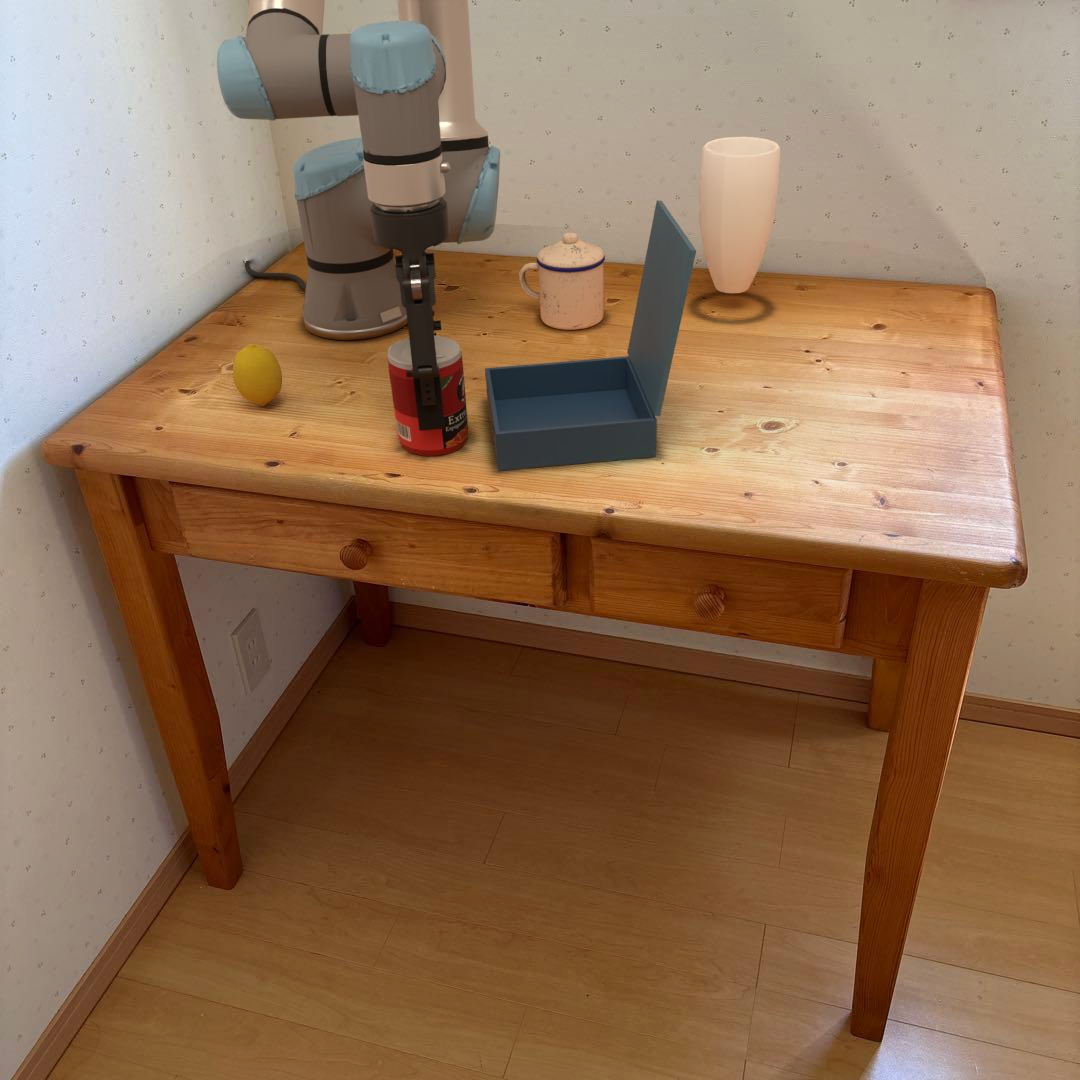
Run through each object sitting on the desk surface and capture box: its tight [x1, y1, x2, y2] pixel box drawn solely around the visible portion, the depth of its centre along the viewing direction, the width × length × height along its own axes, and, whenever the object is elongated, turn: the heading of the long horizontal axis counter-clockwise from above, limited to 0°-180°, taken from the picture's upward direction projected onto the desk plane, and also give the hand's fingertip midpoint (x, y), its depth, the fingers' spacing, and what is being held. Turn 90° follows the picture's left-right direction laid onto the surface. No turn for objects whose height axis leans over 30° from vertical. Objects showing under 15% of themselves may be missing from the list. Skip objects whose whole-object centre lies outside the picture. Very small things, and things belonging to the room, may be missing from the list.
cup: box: [698, 136, 781, 294], centre depth 139 cm, size 10×10×22 cm
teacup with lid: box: [518, 232, 606, 331], centre depth 141 cm, size 12×9×12 cm
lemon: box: [232, 342, 283, 407], centre depth 124 cm, size 6×6×8 cm
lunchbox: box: [484, 355, 658, 472], centre depth 117 cm, size 17×16×4 cm
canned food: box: [386, 335, 469, 457], centre depth 114 cm, size 8×8×11 cm
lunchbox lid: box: [627, 199, 697, 417], centre depth 111 cm, size 18×16×1 cm
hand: (431, 407), depth 115 cm, fingers open, 9 cm apart
